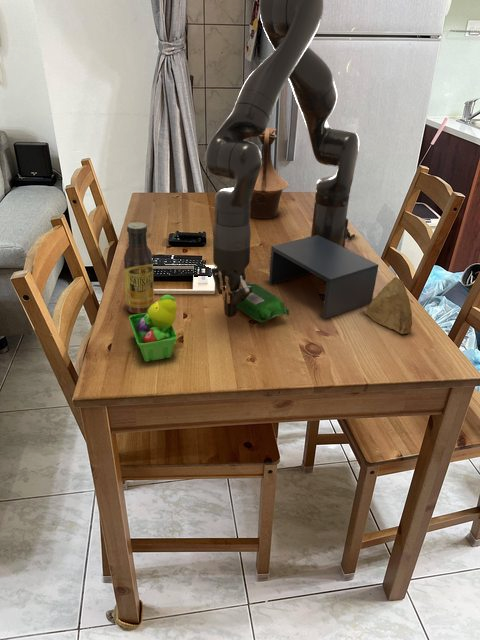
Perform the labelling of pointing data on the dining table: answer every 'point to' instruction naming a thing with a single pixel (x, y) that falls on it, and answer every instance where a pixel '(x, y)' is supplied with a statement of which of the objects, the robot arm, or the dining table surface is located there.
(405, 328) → the rock
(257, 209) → the brown cone topped pot
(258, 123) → the robot arm
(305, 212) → the dining table surface
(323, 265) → the open shelf stand
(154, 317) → the fruit basket
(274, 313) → the snack package
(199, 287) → the photo frame
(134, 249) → the sauce bottle
